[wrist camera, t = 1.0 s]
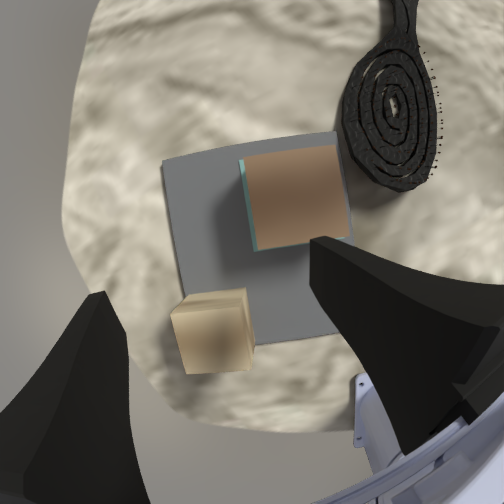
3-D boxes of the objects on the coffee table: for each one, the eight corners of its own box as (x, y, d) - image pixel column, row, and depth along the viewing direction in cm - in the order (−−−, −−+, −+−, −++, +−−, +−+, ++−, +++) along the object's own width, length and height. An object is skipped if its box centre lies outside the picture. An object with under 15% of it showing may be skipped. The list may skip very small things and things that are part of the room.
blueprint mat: (358, 325, 22) (360, 328, 21) (199, 347, 23) (197, 350, 23) (334, 132, 20) (336, 130, 19) (164, 161, 21) (161, 160, 21)
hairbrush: (441, -19, 14) (446, 205, 17) (429, -1, 18) (422, 207, 20) (366, -50, 14) (337, 167, 17) (359, -29, 18) (326, 176, 21)
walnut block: (335, 231, 21) (349, 236, 17) (260, 242, 21) (257, 249, 17) (323, 156, 20) (335, 144, 16) (248, 166, 20) (243, 157, 16)
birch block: (255, 341, 22) (251, 369, 18) (200, 346, 23) (186, 374, 18) (245, 287, 22) (239, 306, 17) (188, 294, 22) (170, 314, 18)
